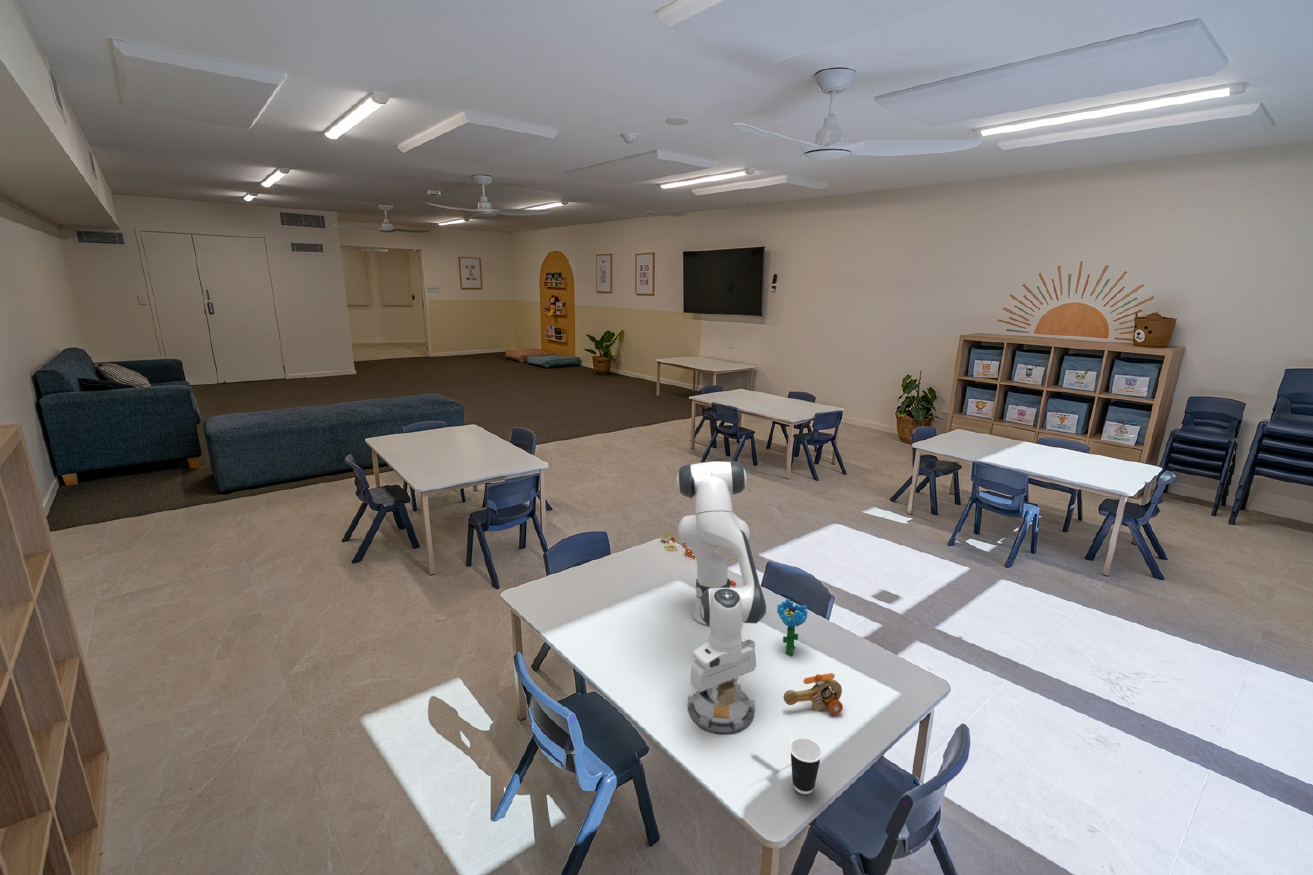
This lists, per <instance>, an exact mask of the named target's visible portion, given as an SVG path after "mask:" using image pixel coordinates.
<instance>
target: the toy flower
mask: <svg viewBox="0 0 1313 875" xmlns="http://www.w3.org/2000/svg"><path fill="white" fill-rule="evenodd" d="M777 615H779V616H778V617H779V619H780V620H781V621H782V623H783V624H784V626H787V630H786V636H785V635H783V637H782V642H783V643H784V644H786V645H785V654H786V655H787V656H790V657H792V655H794V650H795V649H796V646H795V641H798V640H799V634H798V633H795V632H796V627H799V626H801V625H803V624H804V623H806V620H807V619H808V610H807V605H805V604H804V605H800V604H795V605H794V601H792V600H791V601H790V599H789V598H786V599H785V601H781V603H779V604H777Z"/></svg>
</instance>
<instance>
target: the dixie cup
mask: <svg viewBox="0 0 1313 875" xmlns="http://www.w3.org/2000/svg"><path fill="white" fill-rule="evenodd" d="M788 748H789V751H790V762H791V765H790V766H791V778H792V780H791V781H792V785H793V788H794V790H795V791H796V792H798V793H800V794H803V795H809V794H811V793H813V790H814V789H815V785H816V781H817V776H818V771H819V768H820V762H821V759H822V757H823V752H824V751H823V749H822V747H821V745H820V744H819V743H818V742H816V741H815V740H813V739H812V738H808V737H797V738H794V739H792V740H791V741H790V744H789V747H788Z"/></svg>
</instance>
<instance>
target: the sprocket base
mask: <svg viewBox="0 0 1313 875" xmlns="http://www.w3.org/2000/svg"><path fill="white" fill-rule="evenodd" d="M694 694H695V693H693V694H692V696H694ZM748 700H750V698H749V697H748ZM687 710H688V714H689V717H690V719H691V721H692V722H693V723H694V724H696V725H697V727H699V728H701V729H702V730H703V731H706V732H709V733H712V734H716V735H734V734H737V733H741V732H743V731H744V730H746V729H747V728H748V727H749V726H750V725H751V724H752V723H753V720H754V716H755V712H749V713H748V715H747V717H746V718H745V719H744V720H743V727H741V728H738V729H735V730H734V729H733V727H732V726H715V725H712V724H711V725H710V726H709V727H706V726H704V725H702V724H700V723H699V722H700V718H699V717H698V716H697V714H696V713H695V711H694V708H691V707H688V706H687Z"/></svg>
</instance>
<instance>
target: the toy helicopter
mask: <svg viewBox="0 0 1313 875" xmlns="http://www.w3.org/2000/svg"><path fill="white" fill-rule="evenodd" d="M835 677H836V675H835V674H834V673H832V672H831V673H822V674H817V673H816V674H815V675H814V676H808V677H805V678H804V679H803V680H802V681H803V682H802V683H803V684H804V685H809V684H814V685H813V686H812V687H811V688H809V689H808V688H807V689H803V690H797V691H796V690H793V689H788V690H786V691H785V692H784V694H783V696H782V697H783V698H782V699H783V700H784V703H785V704H787V705H788V706H793V705H795V704H797V703H800V702H801V703H802V702H811V705H812V706H811V707H812V708H813V710H814V711H819V710H820V709H828V711H829V712H830V713H831V714H832V715H839V714H840V713H841V712H842V711H843V707H844V706H843V703H842V702H841V701H840V698H841V697H842V694H843V693H842V692H843V688H842V685H841V684H840V683H839V681H837V680H836V679H834V678H835Z"/></svg>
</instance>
